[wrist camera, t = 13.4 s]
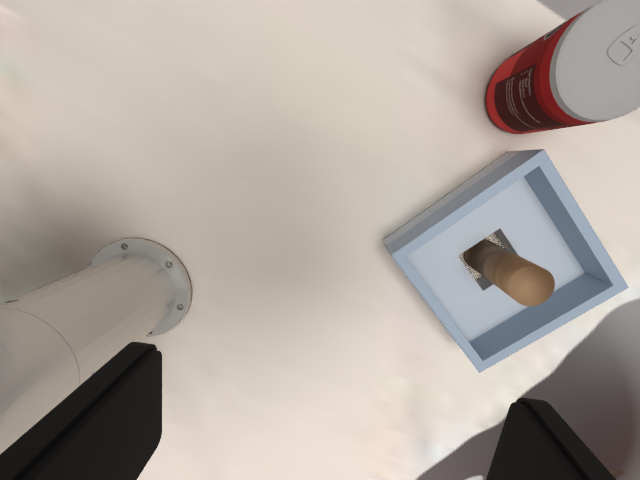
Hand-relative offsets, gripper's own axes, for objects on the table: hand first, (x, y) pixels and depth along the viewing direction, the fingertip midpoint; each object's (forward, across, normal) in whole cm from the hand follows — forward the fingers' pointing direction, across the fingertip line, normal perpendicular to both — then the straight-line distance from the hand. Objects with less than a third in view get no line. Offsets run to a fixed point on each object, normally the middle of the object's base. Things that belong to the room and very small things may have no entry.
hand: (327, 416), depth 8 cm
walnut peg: (+28, -17, +1) cm, 33 cm away
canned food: (+28, -17, -16) cm, 37 cm away
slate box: (+28, -17, +1) cm, 33 cm away
